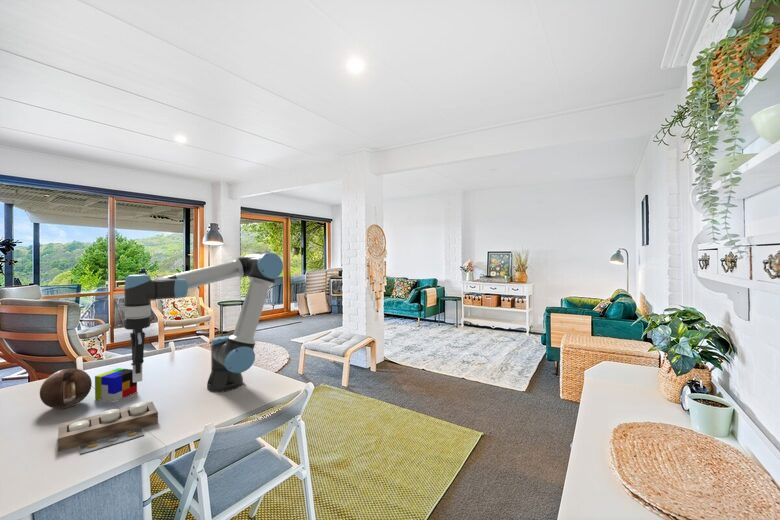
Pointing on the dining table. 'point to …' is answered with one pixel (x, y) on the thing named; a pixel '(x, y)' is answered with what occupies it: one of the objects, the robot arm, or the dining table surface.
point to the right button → (138, 408)
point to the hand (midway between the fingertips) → (137, 381)
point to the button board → (106, 430)
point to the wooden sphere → (65, 388)
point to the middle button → (109, 415)
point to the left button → (79, 425)
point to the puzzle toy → (115, 385)
